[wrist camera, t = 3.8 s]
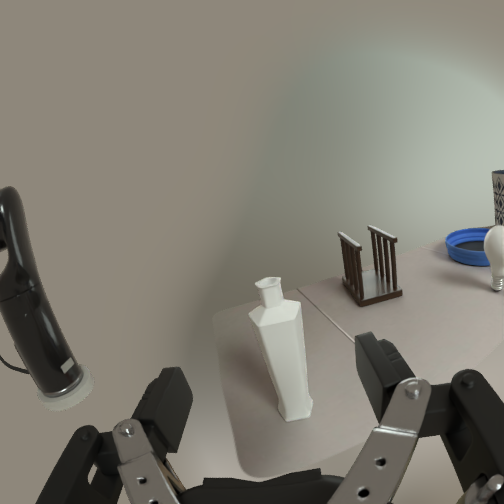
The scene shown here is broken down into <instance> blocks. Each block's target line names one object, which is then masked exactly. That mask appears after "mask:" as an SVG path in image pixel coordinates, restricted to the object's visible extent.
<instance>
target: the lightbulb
mask: <svg viewBox="0 0 504 504" xmlns="http://www.w3.org/2000/svg"><path fill="white" fill-rule="evenodd" d="M484 251H485V254H486V257H487V259H488V260H489V263H490V267H491V272H492V280H491V281H492V282H491V288H492V289H494V290H495V291H499V290H501V289H503V288H504V226H503V225H497V226H494V227H492V228H491V229H490V230H489V231H488V232H487V234H486V236H485V239H484Z"/></svg>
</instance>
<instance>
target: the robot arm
mask: <svg viewBox="0 0 504 504" xmlns="http://www.w3.org/2000/svg"><path fill="white" fill-rule="evenodd" d="M6 249H8V262H7V264H6V266H5V268H4V270H3V271H2V273H1V274H0V312H1V315H2V317H3V319H4V321H5V324H6V326H7V328H8V330H9V333H10V335H11V337H12V339H13V341H14V344H15V348H16V350H17V352H18V354H19V356H20V357H21V359H22V361H23V363H24V365H25V366H26V368H27V370H25V369H21V368H18V367H14V366H12V365H10V364H8V363H7V362H6V361H4V359H3V358H2V357H1V356H0V360H1V361H2V362H3V363H4V364H5V365H6V366H7V367H9V368H10V369H13V370H15V371H19V372H22V373H26V374H30V375H31V377H32V378H33V380H34V382H35V383H36V385H37V387H38V388H39V390H41V392H42V393H43V395H44V396H46V397H48V398H56V397H60V396H63V395H65V394H67V393H69V392H70V391H72V390H73V389H74V388H76V387H77V386H78V385H79V383H80V382H81V381H82V379H83V375H84V373H83V371H82V369H81V367H80V366H79V365H78V363H77V361H76V359H75V357H74V356H73V353H72V351H71V349H70V347H69V345H68V343H67V341H66V339H65V337H64V335H63V333H62V332H61V329H60V327H59V324H58V322H57V320H56V318H55V316H54V313H53V311H52V308H51V306H50V303H49V301H48V299H47V296H46V293H45V291H44V288H43V285H42V282H41V280H40V277H39V274H38V270H37V266H36V261H35V258H34V254H33V251H32V247H31V243H30V238H29V234H28V228H27V223H26V218H25V212H24V208H23V204H22V200H21V198H20V195H19V194H18V192H17V190H16V189H15V188H14V187H11V186H8V187H5V188H2V189H0V252H2V251H4V250H6ZM355 353H356V367H357V371H358V375H359V377H360V380H361V382H362V384H363V387H364V389H365V391H366V394H367V396H368V398H369V401H370V403H371V406H372V408H373V411H374V413H375V415H376V418H377V420H378V423H379V426H378V427H375V428H374V429H373V430H372V432H371V434H370V436H369V438H368V439H367V441H366V443H365V445H364V447H363V448H362V450H361V452H360V454H359V455H358V457H357V459H356V461H355V462H354V464H353V466H352V467H351V469H350V471H349V472H348V474H347V475H346V477H345V478H344V477H340V476H334V475H321V469H320V468H317V469H312V470H307V471H300V472H294V473H289V474H286V475H283V476H280V477H277V478H273V479H270V480H267V481H263V482H253V481H247V480H241V479H235V478H204V480H203V485H200V486H196V487H193V488H190V489H187V490H186V489H185V487H184V486H183V485H182V483H181V481H180V480H179V478H178V477H177V475H176V473H175V472H174V470H173V469H172V467H171V465H170V463H169V461H168V460H167V459H166V454H167V452H168V453H177V450H178V447H179V444H180V441H181V438H182V434H183V431H184V428H185V425H186V421H187V418H188V415H189V412H190V409H191V406H192V402H193V395H192V391H191V389H190V387H189V385H188V383H187V381H186V378H185V376H184V374H183V372H182V370H181V368H180V367H170V368H163V369H162V371H161V373H160V375H159V377H158V378H156V379H154V380H153V381H152V382H151V383H150V384H149V385H148V387H147V389H146V391H145V394H143V396H142V400H140V402H139V404H138V406H137V408H136V409H135V411H134V413H133V415H132V417H131V419H126V420H123V421H121V422H119V423H118V424H117V425H116V426H115V427H114V429H113V431H110V432H104V433H99V432H98V430H97V429H96V428H95V427H94V426H91V425H86V426H83V427H80V428H79V429H77V430H76V431H75V433H74V434H73V436H72V438H71V439H70V441H69V443H68V445H67V446H66V448H65V450H64V451H63V453H62V455H61V457H60V458H59V460H58V462H57V464H56V466H55V467H54V469H53V471H52V473H51V475H50V477H49V478H48V480H47V482H46V484H45V486H44V488H43V490H42V492H41V494H40V496H39V498H38V500H37V502H36V504H117V502H118V499H119V496H120V493H121V490H122V487H123V485H124V488H125V490H126V493H127V495H128V498H129V500H130V503H131V504H393V503H391V501H392V499H393V497H394V496H395V493H396V491H397V489H398V487H399V485H400V483H401V481H402V479H403V476H404V474H405V472H406V469H407V467H408V465H409V462H410V460H411V457H412V455H413V452H414V450H415V447H416V445H417V442H418V439H419V438H422V437H429V436H436V435H440V436H441V439H442V441H443V443H444V445H445V447H446V450H447V452H448V454H449V457H450V459H451V461H452V464H453V466H454V469H455V471H456V473H457V476H458V479H459V481H460V483H461V486H462V489H463V492H464V494H463V495H462V496H461V498H460V499H459V500H458V502H457V504H504V403H503V402H502V401H501V399H500V398H499V396H498V395H497V394H496V392H495V391H494V390H493V388H492V387H491V386H490V384H489V383H488V382H487V381H486V379H485V378H484V377H483V375H482V374H481V373H479V372H478V371H476V370H472V369H465V370H462V371H459V372H458V373H456V374H455V375H454V376H453V378H452V381H451V383H445V384H439V385H430V384H429V383H428V382H427V381H426V380H424V379H422V378H416V376H415V375H414V373H413V372H412V371H411V369H410V368H409V366H408V365H407V363H406V362H405V360H404V359H403V358H402V356H401V355H400V353H399V352H398V350H397V349H396V347H395V346H394V345H393V343H391V342H389V341H387V340H385V339H383V340H379V341H377V339H376V338H375V336H374V335H373V333H372V332H368V333H364V334H360V335H357V336H355ZM93 464H94V465H95V466H96V467H97V471H96V473H95V475H94V477H93V480H92V482H91V484H89V482H88V474H89V472H90V469H91V467H92V465H93Z"/></svg>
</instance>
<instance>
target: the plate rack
mask: <svg viewBox="0 0 504 504" xmlns="http://www.w3.org/2000/svg"><path fill="white" fill-rule="evenodd" d="M368 230H370V231H371V239H372V248H373V257H374V267H375V269H372V270H368V271H364V272H362V268H361V259H360V251H361V250H362V247H361V245H359V244H358V243H357V242H355V241H354V240H352V239H351V238H350V237H348V236H347V235H345V234H344V233H342V232H338V236H339V237H340V241H341V247H342V254H343V261H344V269H345V276H344V277H342V280H343V283H344V284H345V286H346V287H347V289H348V290H349V291H350V293H351V294H352V295H353V297H354V298H355V300H356V301H357V302H358V304H359V305H360V307H363V306H367V305H371V304H374V303H378V302H381V301H385V300H389V299H392V298H395V297H399V296H402V289H401V288H400V287H399V286H398V285H397V274H396V258H395V247H394V243H396V242H397V238H396V237H395V236H393V235H391V234H389V233H387V232H384V231H382V230H380V229H378V228H376V227H374V226H371V225H369V226H368ZM375 234H376V236H377V245H378V255H379V266H380V270H379V269H378V259H377V249H376V239H375ZM381 237H383V247H384V257H385V270H386V275H385V274H384V266H383V255H382V244H381ZM387 240H389V241H390V252H391V265H392V280H391V279H390V267H389V255H388V244H387ZM354 250H355V251H354ZM356 266H357V267H356Z"/></svg>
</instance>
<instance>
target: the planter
mask: <svg viewBox="0 0 504 504" xmlns="http://www.w3.org/2000/svg"><path fill="white" fill-rule="evenodd" d="M492 181H493V190H494V204H495V226H497V225H503V226H504V170H499V171H493V172H492Z"/></svg>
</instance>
